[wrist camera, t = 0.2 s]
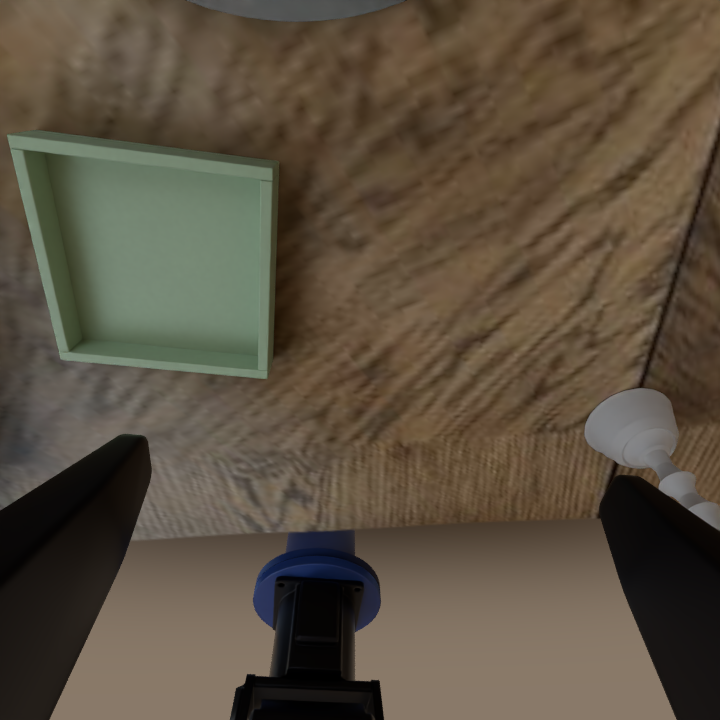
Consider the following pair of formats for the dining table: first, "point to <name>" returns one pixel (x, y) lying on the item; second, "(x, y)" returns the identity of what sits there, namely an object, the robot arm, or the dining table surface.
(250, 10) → the planter
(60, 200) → the base pad
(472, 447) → the dining table surface
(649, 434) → the chalice
